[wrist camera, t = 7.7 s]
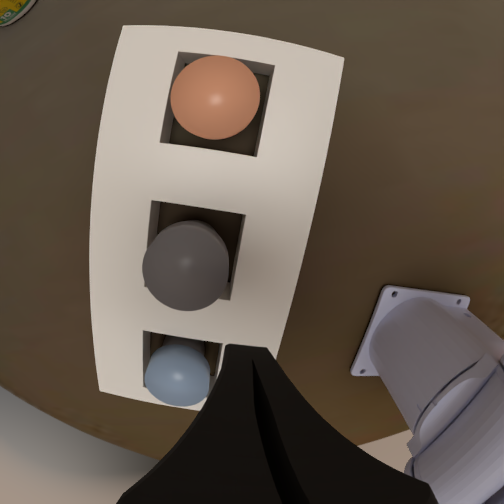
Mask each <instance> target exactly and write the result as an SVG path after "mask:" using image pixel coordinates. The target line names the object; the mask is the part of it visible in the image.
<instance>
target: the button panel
mask: <svg viewBox="0 0 504 504" xmlns="http://www.w3.org/2000/svg"><path fill="white" fill-rule="evenodd" d="M215 55H219V56H227V57H231V58H234V59H236V60H238V61H240V62H242V63H243V64H244V65H246V66H247V67H248V68H249V69H250V70H251V71H252V73H257V74H262V75H267V76H269V81H268V86H267V91H266V96H265V101H264V106H263V111H262V116H261V121H260V126H259V131H258V136H257V141H256V147H255V152H254V156H249V155H244V154H238V153H232V152H226V151H220V150H213V149H207V148H200V147H193V146H186V145H178V144H170V143H169V141H170V135H171V129H172V124H173V118H174V114H173V111H172V107H171V90H172V86H173V84H174V81H175V79H176V78H177V76H178V75H179V73H180V72H181V71H182V70H183V69H184V66H185V63H187V64H190V63H192V62H194V61H195V60H198V59H200V58H203V57H207V56H215ZM343 63H344V58H343V57H339V56H336V55H333V54H330V53H326V52H323V51H319V50H316V49H312V48H308V47H304V46H301V45H296V44H292V43H288V42H284V41H279V40H274V39H270V38H265V37H259V36H254V35H248V34H242V33H235V32H228V31H221V30H212V29H203V28H192V27H177V26H151V25H130V26H123V28H122V31H121V35H120V38H119V42H118V45H117V49H116V53H115V56H114V60H113V64H112V69H111V73H110V77H109V82H108V86H107V91H106V96H105V101H104V106H103V111H102V117H101V123H100V129H99V136H98V143H97V150H96V158H95V167H94V177H93V188H92V201H91V218H90V254H89V265H90V301H91V318H92V331H93V342H94V352H95V360H96V368H97V376H98V382H99V389H100V391H103V392H106V393H110V394H115V395H119V396H123V397H127V398H132V399H136V400H141V401H146V402H151V403H156V404H162V405H167V406H173V405H169V404H166V403H164V402H162V401H160V400H158V399H157V398H155V397H154V396H153V395H152V394H151V393H150V392H149V390H148V389H147V387H146V384H145V373H146V370H147V367H148V364H149V361H150V335H151V332H155V333H161V334H166V335H172V336H178V337H184V338H190V339H197V340H203V341H210V342H217V343H220V346H219V352H218V358H217V364H216V370H215V376H210V380H209V391H208V394H207V396H206V397H205V398H204V399H203V400H202V401H201V402H199V403H197V404H195V405H192V406H185V407H180V406H173V407H179V408H186V409H192V410H201V408H202V407H203V405H204V403H205V402H206V400H207V398H208V396H209V394H210V392H211V390H212V388H213V386H214V384H215V382H216V380H217V377H218V375H219V372H220V370H221V366H222V360H223V355H224V349H225V346H226V345H227V344H229V343H231V344H239V345H248V346H258V347H267V348H268V350H269V351H270V352H271V354H272V355H273V357H274V358H275V360H276V356H277V353H278V350H279V346H280V343H281V339H282V336H283V332H284V328H285V325H286V321H287V318H288V314H289V310H290V307H291V303H292V299H293V295H294V291H295V288H296V284H297V280H298V276H299V272H300V268H301V264H302V260H303V256H304V252H305V248H306V244H307V240H308V236H309V232H310V227H311V223H312V219H313V215H314V210H315V206H316V201H317V197H318V192H319V188H320V183H321V179H322V174H323V169H324V165H325V160H326V155H327V150H328V145H329V140H330V135H331V130H332V125H333V120H334V114H335V109H336V103H337V98H338V92H339V87H340V81H341V75H342V69H343ZM161 201H162V202H169V203H176V204H182V205H189V206H195V207H202V208H208V209H215V210H221V211H227V212H233V213H239V214H243V215H242V221H241V226H240V232H239V237H238V243H237V248H236V254H235V259H234V265H233V271H232V276H231V282H230V283H229V282H227V285H226V288H225V290H224V292H223V293H222V295H221V296H220V297H219V298H218V299H217V300H216V301H215V302H214V303H213V304H211V305H210V306H208V307H206V308H203V309H200V310H196V311H180V310H175V309H172V308H170V307H168V306H166V305H164V304H162V303H161V302H159V301H158V300H157V299H156V298H155V297H154V296H153V295H152V294H151V292H150V291H149V290H148V288H147V286H146V284H145V281H144V278H143V273H142V263H143V258H144V255H145V252H146V250H147V249H148V247H149V245H150V244H151V243H152V242H153V240H154V239H155V238H156V237H157V228H158V219H159V210H160V202H161Z"/></svg>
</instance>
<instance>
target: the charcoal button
mask: <svg viewBox="0 0 504 504" xmlns="http://www.w3.org/2000/svg"><path fill="white" fill-rule="evenodd" d="M142 273H143V278H144V281H145V284H146V286H147V288H148V290H149V291H150V292H151V294H152V295H153V296H154V297H155V298H156V299H157V300H158V301H159V302H161V303H162V304H164V305H166V306H168V307H170V308H172V309H175V310H180V311H196V310H200V309H203V308H206V307H208V306H210V305H211V304H213V303H214V302H215V301H216V300H217V299H218V298H219V297H220V296H221V295H222V293H223V292H224V290H225V288H226V285H227V281H228V274H229V256H228V251H227V248H226V246H225V243H224V242H223V240H222V238H221V237H220V236H219V235H218V234H217V232H216V231H215V229H214V228H213V227H212V226H210V225H209V224H208V223H206V222H203V221H200V220H187V221H182V222H177V223H174V224H172V225H170V226H168V227H166V228H165V229H163V230H162V231H161V232H160V233H159V234H158V236H157V237H156V238H155V239H154V240H153V242H152V243H151V244H150V245H149V247H148V249H147V250H146V252H145V255H144V258H143V263H142Z"/></svg>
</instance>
